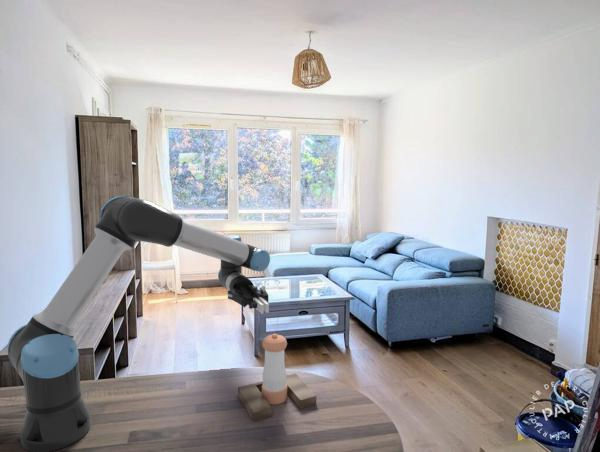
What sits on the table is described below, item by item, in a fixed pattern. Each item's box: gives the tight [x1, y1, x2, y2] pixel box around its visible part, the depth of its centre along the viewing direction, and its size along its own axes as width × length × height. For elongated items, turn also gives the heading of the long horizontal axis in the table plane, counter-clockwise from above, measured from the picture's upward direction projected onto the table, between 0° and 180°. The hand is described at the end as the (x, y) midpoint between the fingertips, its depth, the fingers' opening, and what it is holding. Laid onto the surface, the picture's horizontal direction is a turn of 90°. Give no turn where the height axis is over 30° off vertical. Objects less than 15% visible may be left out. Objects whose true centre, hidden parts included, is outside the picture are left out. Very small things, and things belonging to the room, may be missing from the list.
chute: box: [237, 373, 317, 422], centre depth 120 cm, size 13×18×2 cm
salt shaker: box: [261, 333, 288, 406], centre depth 119 cm, size 7×7×19 cm
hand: (264, 308), depth 124 cm, fingers closed
